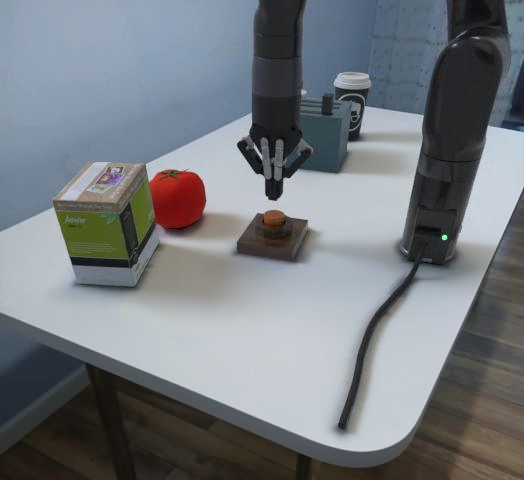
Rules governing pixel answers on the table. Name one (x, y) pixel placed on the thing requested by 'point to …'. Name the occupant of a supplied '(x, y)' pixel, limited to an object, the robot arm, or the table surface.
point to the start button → (274, 218)
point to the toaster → (323, 134)
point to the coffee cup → (353, 97)
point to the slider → (327, 103)
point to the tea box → (108, 223)
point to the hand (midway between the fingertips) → (274, 198)
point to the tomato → (177, 198)
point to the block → (273, 238)
